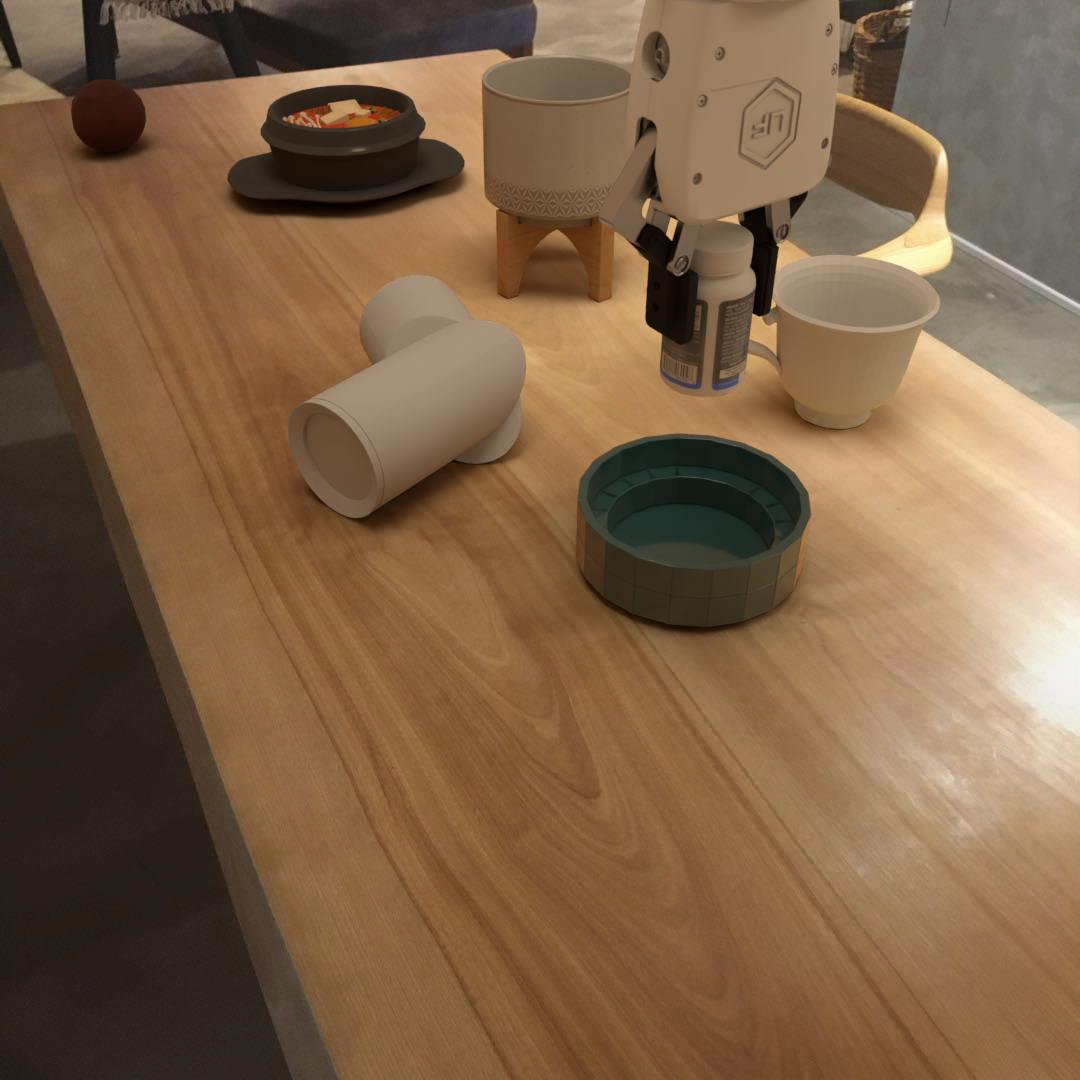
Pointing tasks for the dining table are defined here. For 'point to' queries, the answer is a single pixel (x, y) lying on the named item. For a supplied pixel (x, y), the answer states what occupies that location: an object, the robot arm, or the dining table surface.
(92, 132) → the dark brown ball
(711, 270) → the pill bottle
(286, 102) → the casserole
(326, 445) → the beige tubular fitting
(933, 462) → the dining table surface
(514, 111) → the planter
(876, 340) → the teacup
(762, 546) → the bowl
